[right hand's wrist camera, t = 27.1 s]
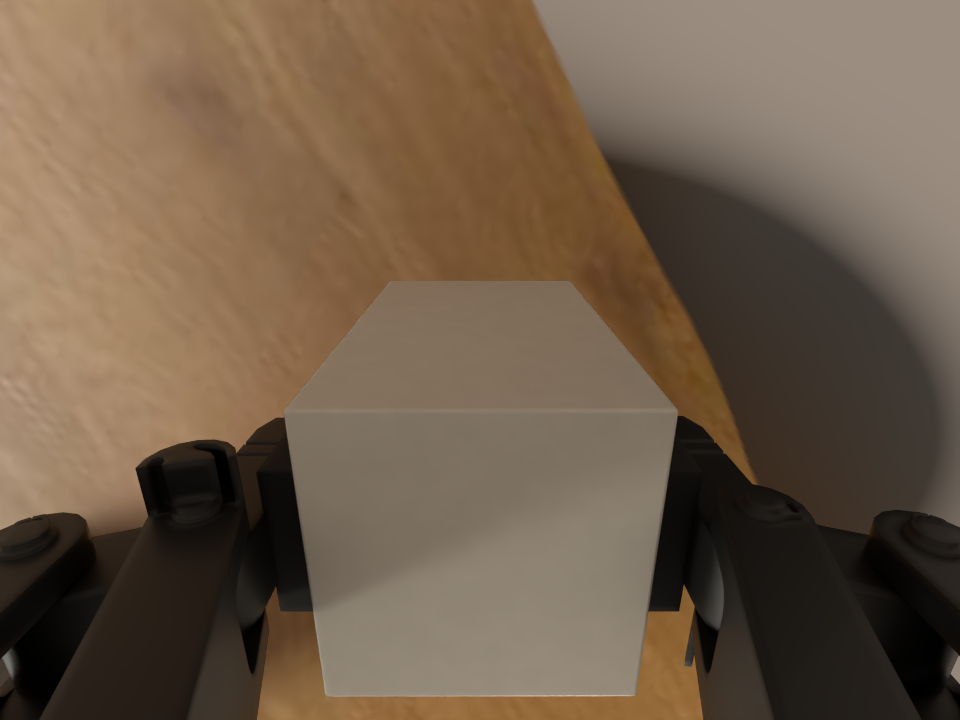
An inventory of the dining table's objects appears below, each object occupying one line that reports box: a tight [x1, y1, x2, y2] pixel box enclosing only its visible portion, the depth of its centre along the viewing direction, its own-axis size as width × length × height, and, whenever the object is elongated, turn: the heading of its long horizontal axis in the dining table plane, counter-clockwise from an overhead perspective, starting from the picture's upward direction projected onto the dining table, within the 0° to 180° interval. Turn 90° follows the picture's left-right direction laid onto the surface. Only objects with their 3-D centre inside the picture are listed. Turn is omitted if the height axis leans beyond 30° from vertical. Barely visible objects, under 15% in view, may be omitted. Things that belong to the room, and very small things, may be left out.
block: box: [284, 281, 678, 696], centre depth 12 cm, size 5×5×8 cm
